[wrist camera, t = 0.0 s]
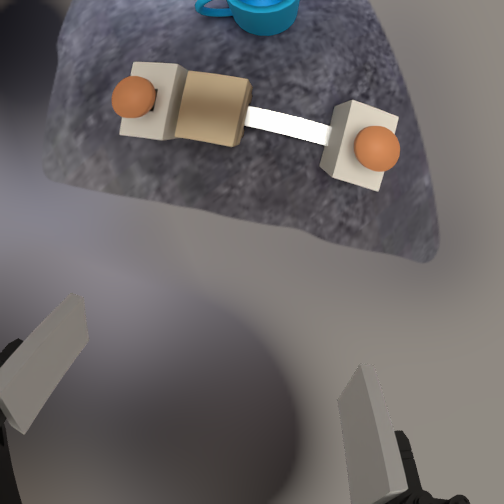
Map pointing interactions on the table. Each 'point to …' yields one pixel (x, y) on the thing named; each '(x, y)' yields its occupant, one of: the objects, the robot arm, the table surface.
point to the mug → (256, 14)
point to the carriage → (214, 108)
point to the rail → (288, 125)
